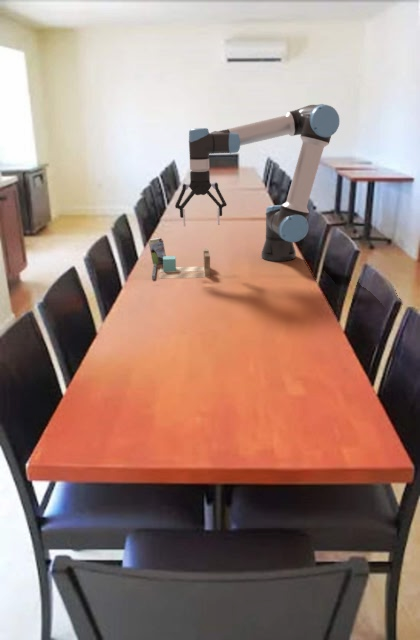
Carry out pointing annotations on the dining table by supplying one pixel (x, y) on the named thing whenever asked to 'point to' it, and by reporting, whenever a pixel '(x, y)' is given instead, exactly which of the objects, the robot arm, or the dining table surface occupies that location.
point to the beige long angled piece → (189, 269)
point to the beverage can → (157, 250)
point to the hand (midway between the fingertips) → (201, 225)
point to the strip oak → (191, 275)
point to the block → (169, 263)
